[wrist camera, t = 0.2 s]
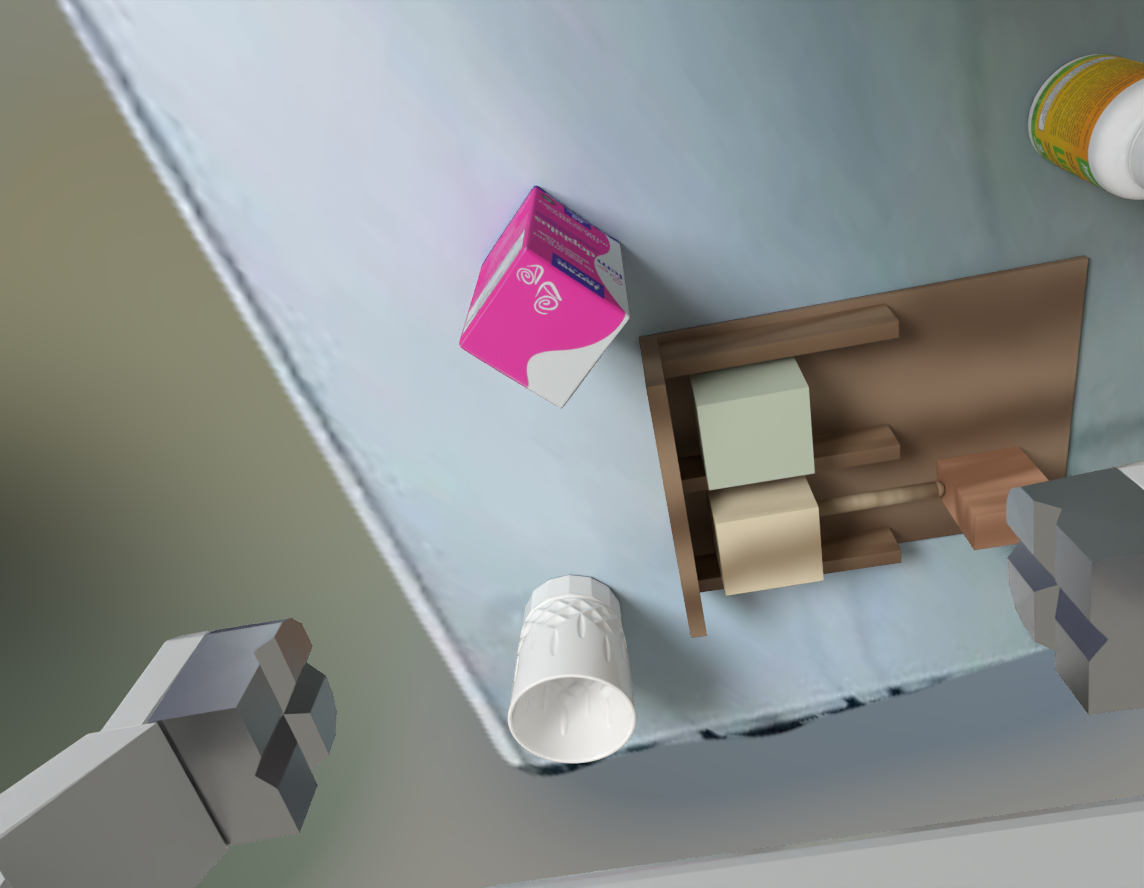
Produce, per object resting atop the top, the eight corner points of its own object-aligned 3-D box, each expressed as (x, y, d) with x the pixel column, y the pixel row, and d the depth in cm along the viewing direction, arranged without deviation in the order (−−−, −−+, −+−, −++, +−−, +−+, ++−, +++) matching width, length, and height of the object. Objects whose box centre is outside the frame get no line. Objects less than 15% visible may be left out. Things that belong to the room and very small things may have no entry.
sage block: (687, 365, 51) (696, 406, 47) (789, 347, 51) (808, 387, 46) (699, 445, 54) (709, 490, 50) (795, 428, 53) (814, 473, 49)
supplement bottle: (1003, 144, 45) (1100, 195, 37) (1065, 36, 42) (1184, 64, 34) (1092, 177, 46) (1206, 234, 38) (1158, 73, 43) (1296, 110, 35)
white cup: (630, 648, 64) (638, 760, 55) (523, 653, 64) (515, 766, 55) (625, 563, 60) (633, 671, 51) (511, 570, 60) (500, 678, 51)
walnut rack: (638, 337, 51) (646, 387, 45) (1084, 255, 48) (1149, 298, 42) (680, 572, 60) (691, 637, 54) (1057, 514, 57) (1108, 578, 52)
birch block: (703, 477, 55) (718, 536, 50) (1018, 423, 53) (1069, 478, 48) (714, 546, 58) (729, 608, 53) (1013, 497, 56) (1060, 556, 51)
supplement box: (624, 238, 48) (635, 320, 38) (563, 320, 50) (559, 417, 40) (536, 178, 46) (524, 247, 36) (478, 265, 49) (452, 353, 39)
